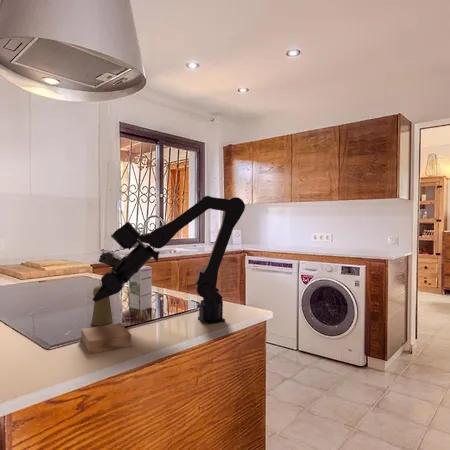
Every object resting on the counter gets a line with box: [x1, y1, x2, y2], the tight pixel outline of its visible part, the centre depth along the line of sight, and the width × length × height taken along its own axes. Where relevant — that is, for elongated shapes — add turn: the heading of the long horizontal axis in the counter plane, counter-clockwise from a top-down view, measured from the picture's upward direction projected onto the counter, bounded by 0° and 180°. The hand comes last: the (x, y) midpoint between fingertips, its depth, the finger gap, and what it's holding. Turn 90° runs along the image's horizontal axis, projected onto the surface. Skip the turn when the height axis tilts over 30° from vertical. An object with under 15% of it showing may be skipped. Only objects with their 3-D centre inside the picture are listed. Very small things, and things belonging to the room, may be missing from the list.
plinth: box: [80, 323, 132, 355], centre depth 90 cm, size 10×10×3 cm
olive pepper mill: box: [91, 285, 113, 326], centre depth 107 cm, size 6×6×11 cm
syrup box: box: [128, 265, 153, 311], centre depth 123 cm, size 6×6×14 cm
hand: (97, 296), depth 106 cm, fingers open, 9 cm apart
